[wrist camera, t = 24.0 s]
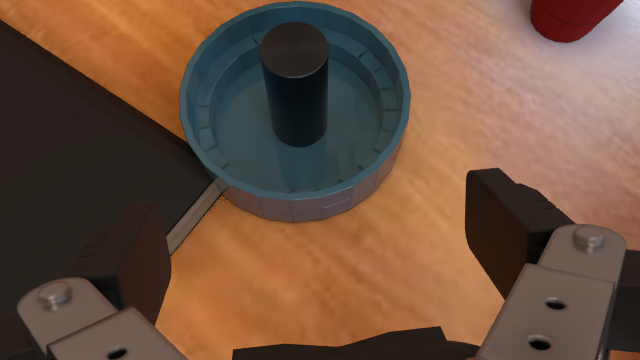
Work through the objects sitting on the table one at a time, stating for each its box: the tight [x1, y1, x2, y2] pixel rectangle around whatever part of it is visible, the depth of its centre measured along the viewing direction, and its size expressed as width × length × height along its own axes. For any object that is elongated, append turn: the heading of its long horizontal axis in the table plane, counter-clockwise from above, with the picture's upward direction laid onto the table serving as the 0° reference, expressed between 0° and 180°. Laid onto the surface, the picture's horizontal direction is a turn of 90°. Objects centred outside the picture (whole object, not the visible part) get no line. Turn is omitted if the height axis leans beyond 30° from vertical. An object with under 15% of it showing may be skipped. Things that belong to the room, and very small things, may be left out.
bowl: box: [179, 1, 411, 222], centre depth 45 cm, size 18×18×6 cm
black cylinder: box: [260, 21, 329, 147], centre depth 42 cm, size 5×5×10 cm
